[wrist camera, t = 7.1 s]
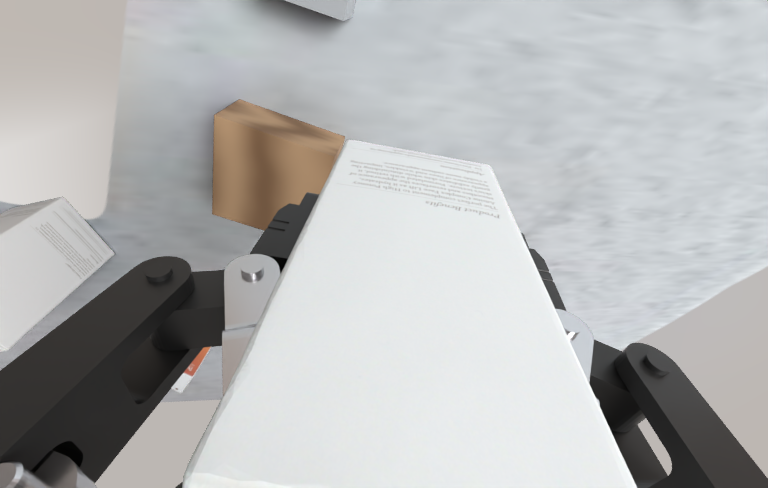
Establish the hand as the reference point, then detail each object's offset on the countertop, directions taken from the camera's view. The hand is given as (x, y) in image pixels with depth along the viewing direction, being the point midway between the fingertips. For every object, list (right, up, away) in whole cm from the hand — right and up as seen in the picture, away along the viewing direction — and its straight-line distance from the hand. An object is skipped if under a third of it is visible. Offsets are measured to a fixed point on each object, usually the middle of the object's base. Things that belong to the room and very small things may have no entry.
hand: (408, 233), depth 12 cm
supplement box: (-41, +1, +31) cm, 51 cm away
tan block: (-11, +8, +23) cm, 26 cm away
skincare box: (0, +2, +3) cm, 3 cm away
